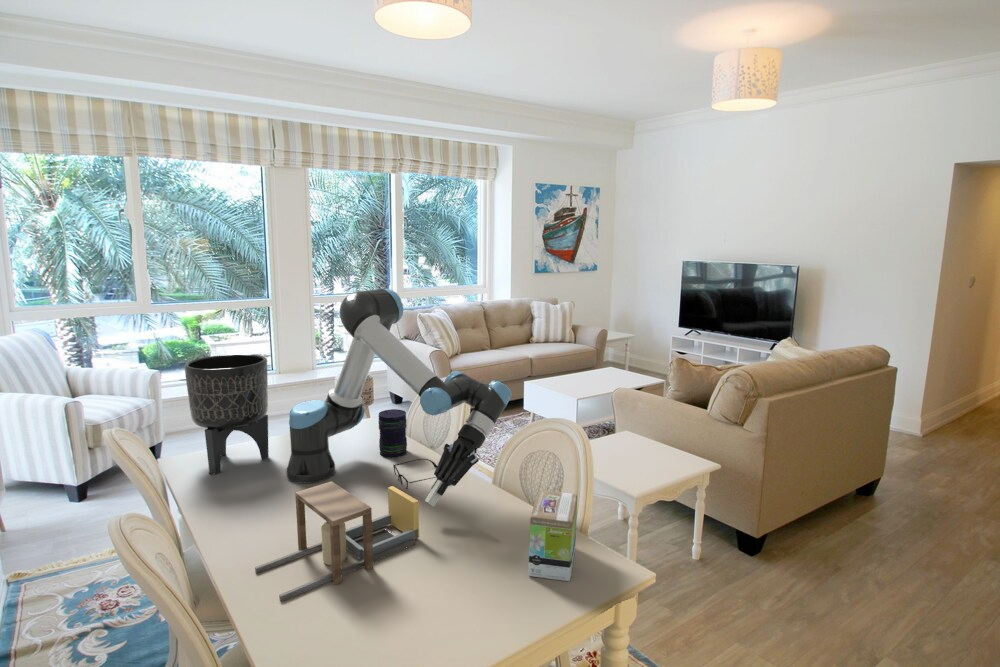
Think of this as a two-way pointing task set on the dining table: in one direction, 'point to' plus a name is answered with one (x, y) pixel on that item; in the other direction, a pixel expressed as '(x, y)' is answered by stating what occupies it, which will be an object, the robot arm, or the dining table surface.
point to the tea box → (552, 535)
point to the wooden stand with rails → (331, 532)
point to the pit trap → (377, 536)
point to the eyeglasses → (405, 478)
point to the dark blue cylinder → (392, 433)
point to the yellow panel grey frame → (400, 516)
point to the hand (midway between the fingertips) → (429, 503)
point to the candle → (327, 543)
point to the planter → (229, 401)
